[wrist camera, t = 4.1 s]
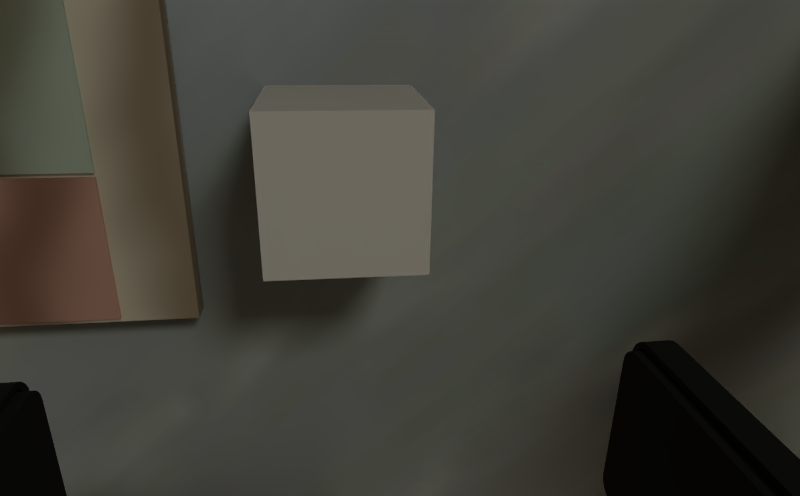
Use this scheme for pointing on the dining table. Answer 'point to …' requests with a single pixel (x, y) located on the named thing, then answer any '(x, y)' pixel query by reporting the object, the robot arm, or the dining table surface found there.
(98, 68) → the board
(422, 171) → the cream cube
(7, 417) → the robot arm
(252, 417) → the dining table surface
